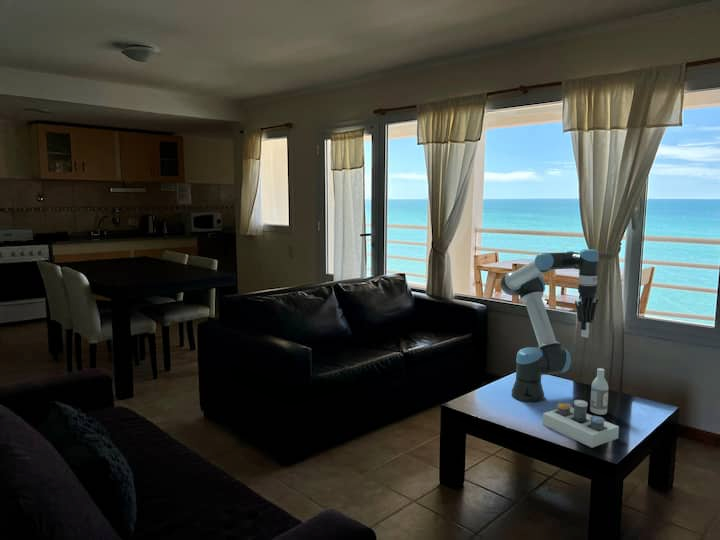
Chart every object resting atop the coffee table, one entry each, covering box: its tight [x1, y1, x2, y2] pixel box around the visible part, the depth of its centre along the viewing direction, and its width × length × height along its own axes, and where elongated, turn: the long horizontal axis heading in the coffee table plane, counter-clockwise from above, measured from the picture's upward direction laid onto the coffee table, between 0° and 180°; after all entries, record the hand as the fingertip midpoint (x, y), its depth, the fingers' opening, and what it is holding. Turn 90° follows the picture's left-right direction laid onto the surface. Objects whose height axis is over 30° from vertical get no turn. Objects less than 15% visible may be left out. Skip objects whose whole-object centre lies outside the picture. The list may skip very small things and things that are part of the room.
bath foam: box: [589, 367, 609, 415], centre depth 230 cm, size 7×7×20 cm
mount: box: [542, 406, 620, 448], centre depth 211 cm, size 24×16×5 cm, turn 29°
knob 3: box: [590, 415, 606, 431], centre depth 204 cm, size 5×5×8 cm
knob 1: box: [557, 402, 572, 417], centre depth 218 cm, size 5×5×8 cm
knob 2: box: [573, 399, 589, 423], centre depth 211 cm, size 5×5×8 cm
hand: (584, 336), depth 229 cm, fingers closed
